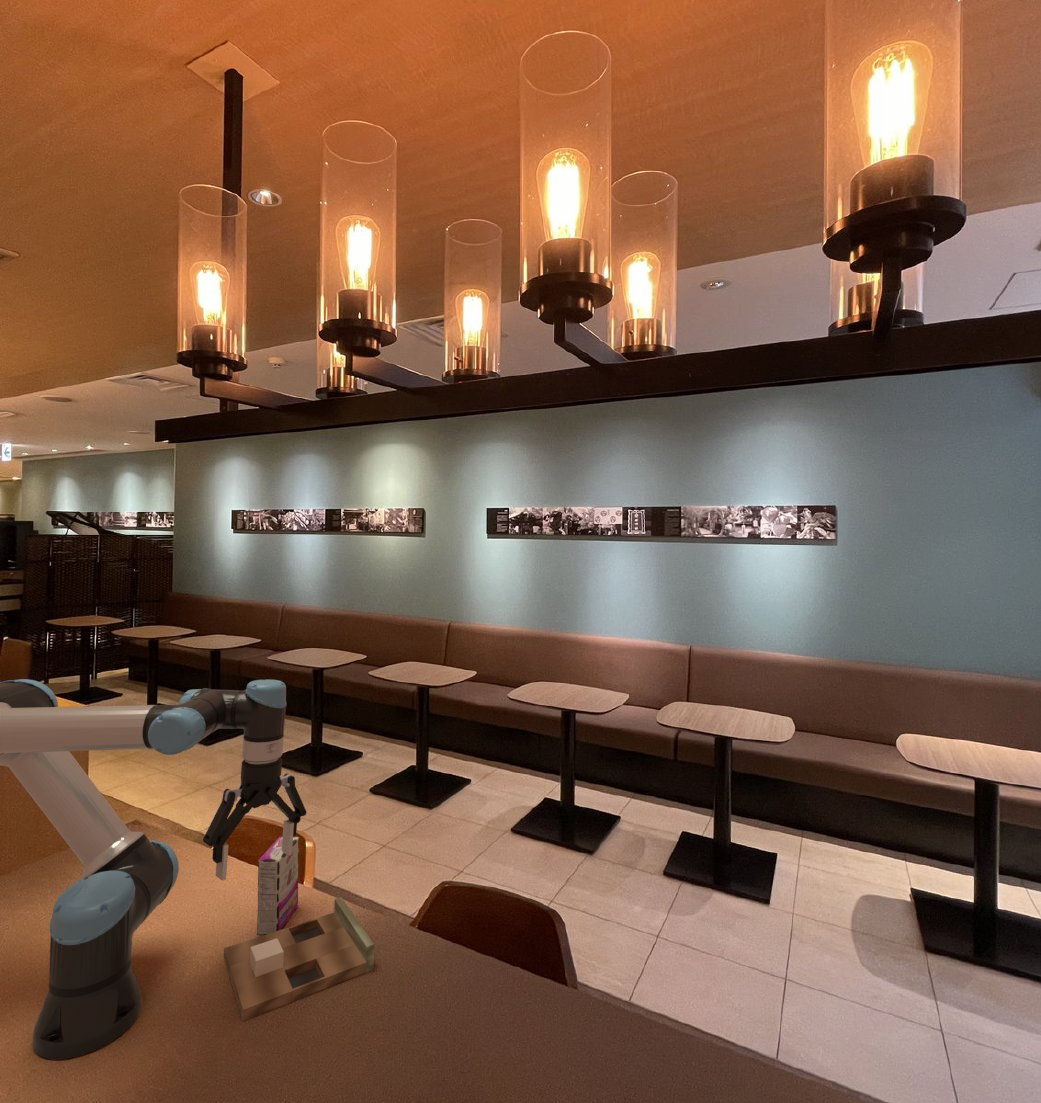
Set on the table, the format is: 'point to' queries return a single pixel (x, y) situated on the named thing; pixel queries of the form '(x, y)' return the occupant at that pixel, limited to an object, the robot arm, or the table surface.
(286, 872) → the candy bar box
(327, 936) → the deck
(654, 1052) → the table surface
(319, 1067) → the table surface
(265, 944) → the block
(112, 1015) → the robot arm
